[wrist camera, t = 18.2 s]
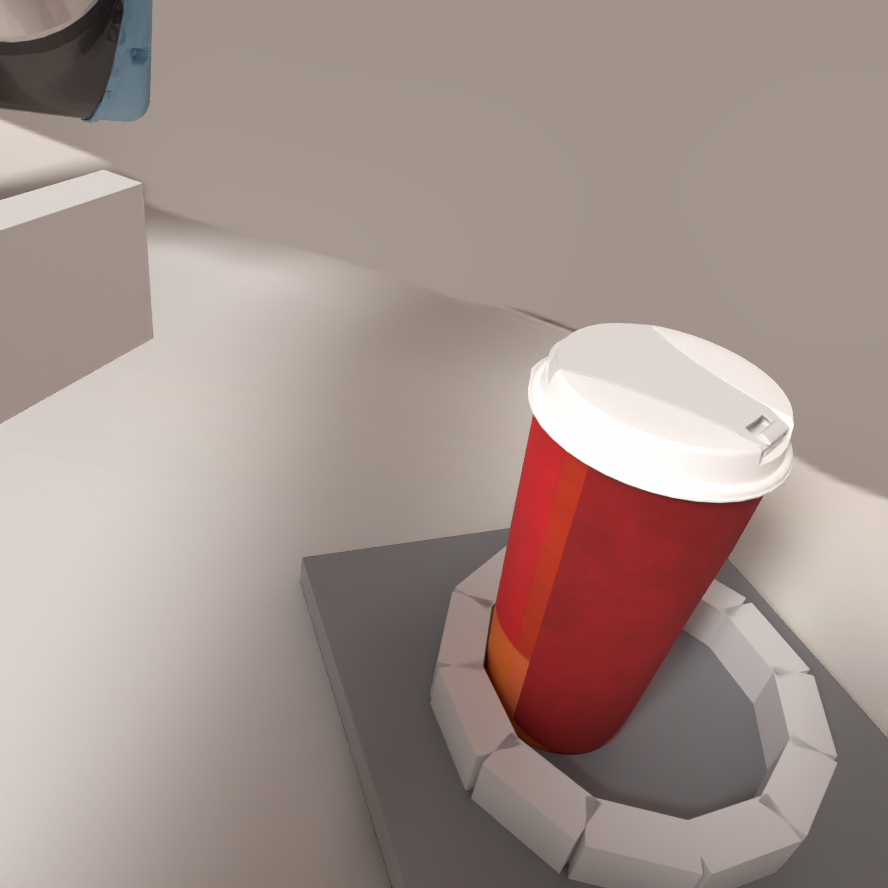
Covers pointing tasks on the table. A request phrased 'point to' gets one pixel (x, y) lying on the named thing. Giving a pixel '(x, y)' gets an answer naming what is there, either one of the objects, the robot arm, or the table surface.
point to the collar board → (603, 770)
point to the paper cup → (623, 519)
